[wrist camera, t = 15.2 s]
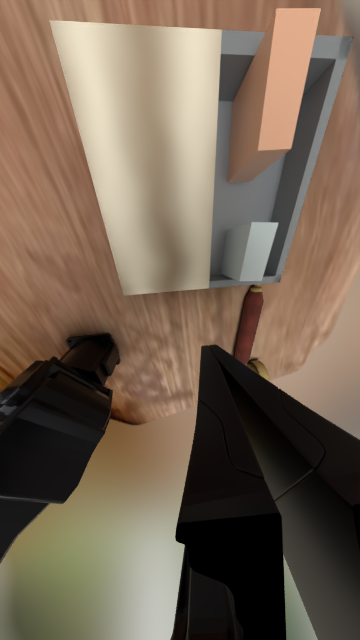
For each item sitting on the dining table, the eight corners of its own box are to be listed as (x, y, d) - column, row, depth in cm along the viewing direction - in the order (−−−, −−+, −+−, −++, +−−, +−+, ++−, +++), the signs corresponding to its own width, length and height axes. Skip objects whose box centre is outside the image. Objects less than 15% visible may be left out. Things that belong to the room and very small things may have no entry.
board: (130, 287, 18) (123, 295, 15) (83, 88, 10) (49, 20, 7) (201, 282, 19) (208, 288, 16) (205, 90, 11) (221, 29, 8)
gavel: (232, 283, 16) (305, 279, 17) (218, 278, 20) (278, 276, 21) (217, 395, 25) (266, 389, 26) (209, 376, 29) (252, 371, 30)
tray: (201, 282, 19) (208, 288, 16) (205, 90, 11) (221, 29, 8) (261, 277, 19) (279, 282, 16) (303, 93, 12) (353, 37, 9)
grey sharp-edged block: (239, 281, 14) (261, 281, 14) (251, 221, 11) (278, 222, 11) (220, 273, 18) (238, 273, 18) (227, 230, 16) (246, 230, 16)
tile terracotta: (257, 150, 9) (291, 148, 9) (276, 8, 7) (321, 8, 7) (227, 183, 14) (250, 181, 14) (232, 103, 11) (260, 102, 11)
